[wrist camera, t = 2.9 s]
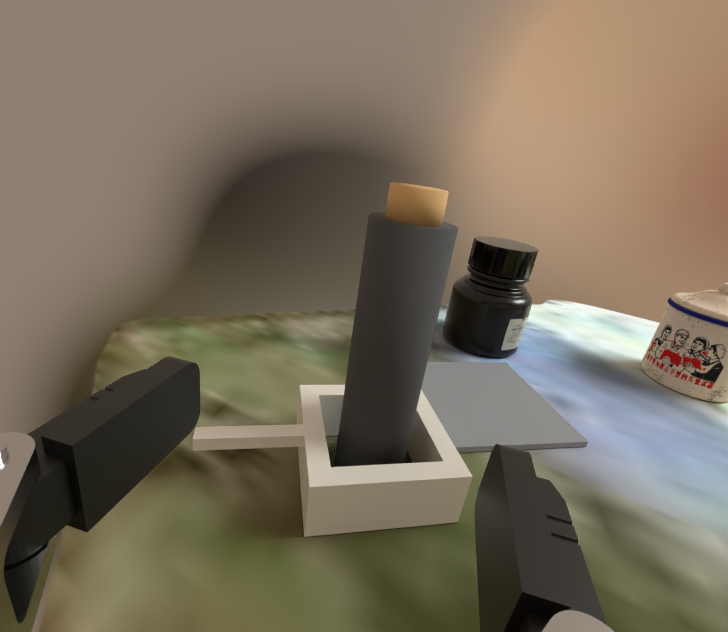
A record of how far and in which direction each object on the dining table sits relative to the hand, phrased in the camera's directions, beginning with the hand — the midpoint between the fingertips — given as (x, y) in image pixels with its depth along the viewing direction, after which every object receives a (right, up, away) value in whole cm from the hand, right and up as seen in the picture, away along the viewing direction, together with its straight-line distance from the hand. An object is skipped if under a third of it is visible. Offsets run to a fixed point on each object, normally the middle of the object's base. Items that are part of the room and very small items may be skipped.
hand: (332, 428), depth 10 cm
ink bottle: (+15, 0, +36) cm, 39 cm away
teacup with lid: (+38, -5, +33) cm, 50 cm away
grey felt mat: (+11, -5, +24) cm, 27 cm away
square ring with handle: (-2, -7, +14) cm, 16 cm away
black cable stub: (+1, -7, +15) cm, 16 cm away
